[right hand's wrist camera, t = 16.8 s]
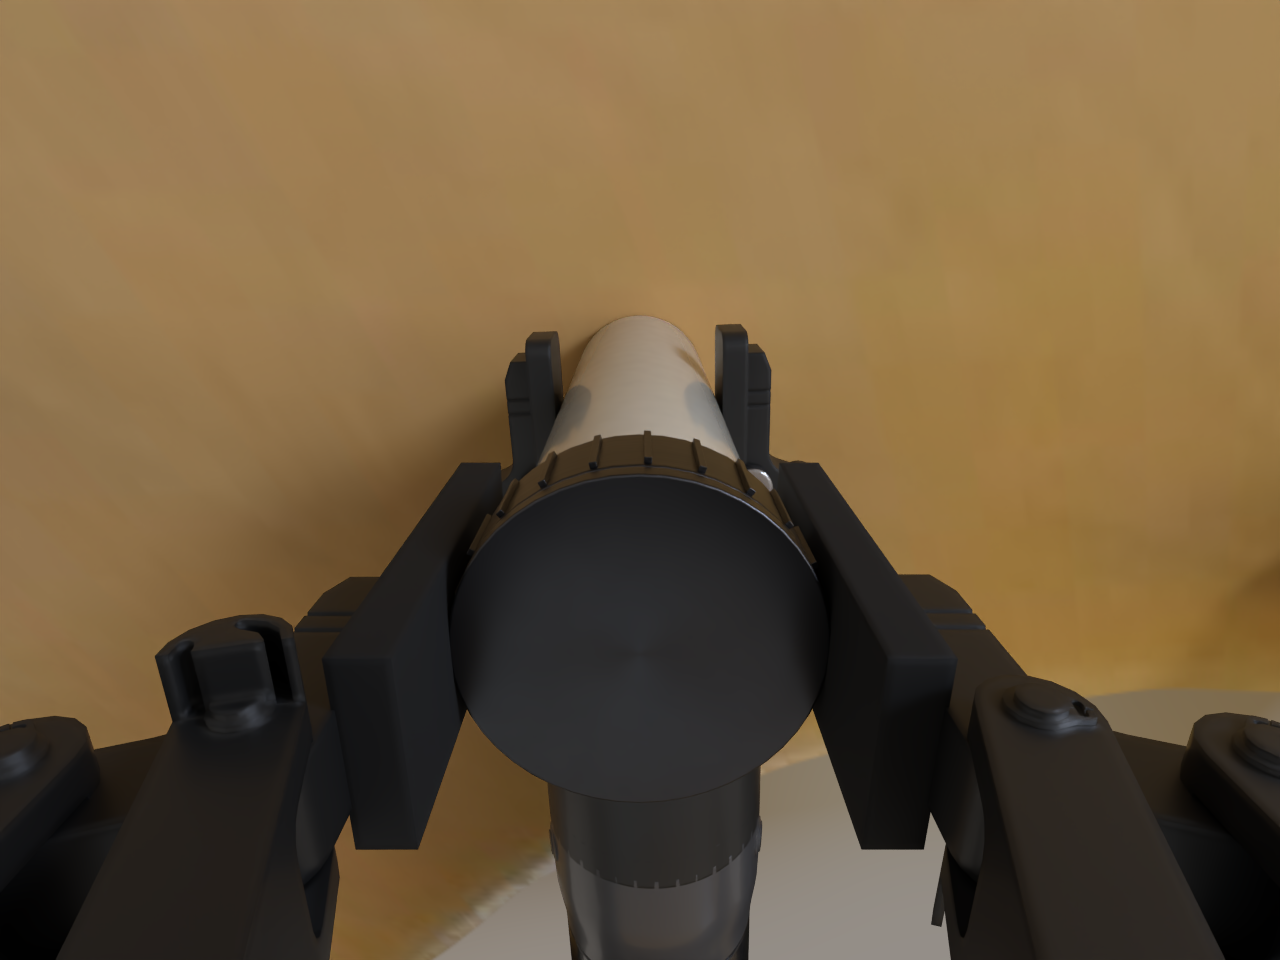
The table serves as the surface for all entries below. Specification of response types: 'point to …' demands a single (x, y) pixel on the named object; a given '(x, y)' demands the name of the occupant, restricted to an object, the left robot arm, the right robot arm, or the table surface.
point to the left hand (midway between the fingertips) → (637, 334)
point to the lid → (639, 621)
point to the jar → (639, 390)
